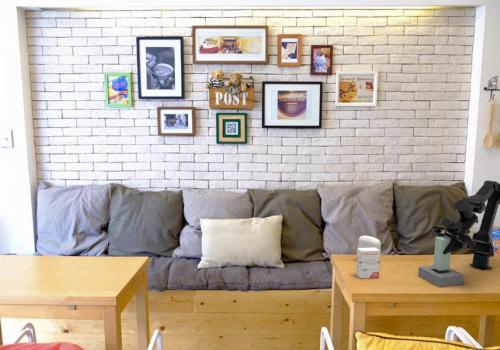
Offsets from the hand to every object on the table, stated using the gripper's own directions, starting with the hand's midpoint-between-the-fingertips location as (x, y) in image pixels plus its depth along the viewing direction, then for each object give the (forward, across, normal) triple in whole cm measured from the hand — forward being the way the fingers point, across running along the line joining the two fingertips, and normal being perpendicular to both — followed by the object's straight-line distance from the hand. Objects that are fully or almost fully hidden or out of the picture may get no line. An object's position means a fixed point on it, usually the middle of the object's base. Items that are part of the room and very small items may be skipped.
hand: (440, 252), depth 167 cm
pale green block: (+4, 0, +6) cm, 7 cm away
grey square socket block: (+8, 0, +9) cm, 12 cm away
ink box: (+27, -12, -10) cm, 31 cm away
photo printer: (+20, -26, -3) cm, 33 cm away
